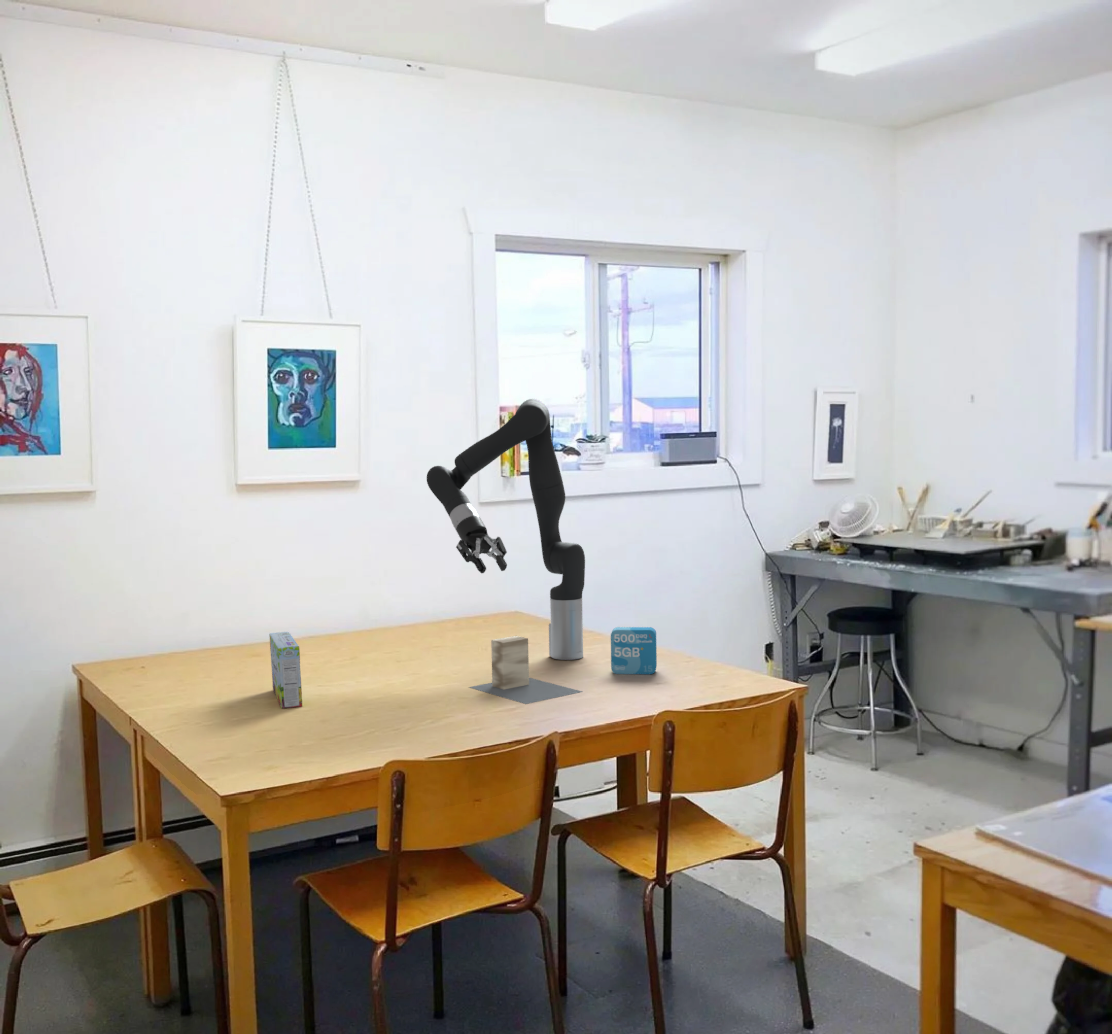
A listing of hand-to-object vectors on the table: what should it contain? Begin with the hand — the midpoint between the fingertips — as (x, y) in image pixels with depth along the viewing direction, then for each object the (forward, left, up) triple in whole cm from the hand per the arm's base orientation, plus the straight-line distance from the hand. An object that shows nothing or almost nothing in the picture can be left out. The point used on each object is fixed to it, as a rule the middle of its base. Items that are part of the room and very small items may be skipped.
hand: (494, 570), depth 291 cm
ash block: (+14, -6, -28) cm, 32 cm away
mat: (+20, -6, -28) cm, 35 cm away
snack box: (-15, -54, -29) cm, 63 cm away
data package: (+24, +28, -29) cm, 47 cm away
